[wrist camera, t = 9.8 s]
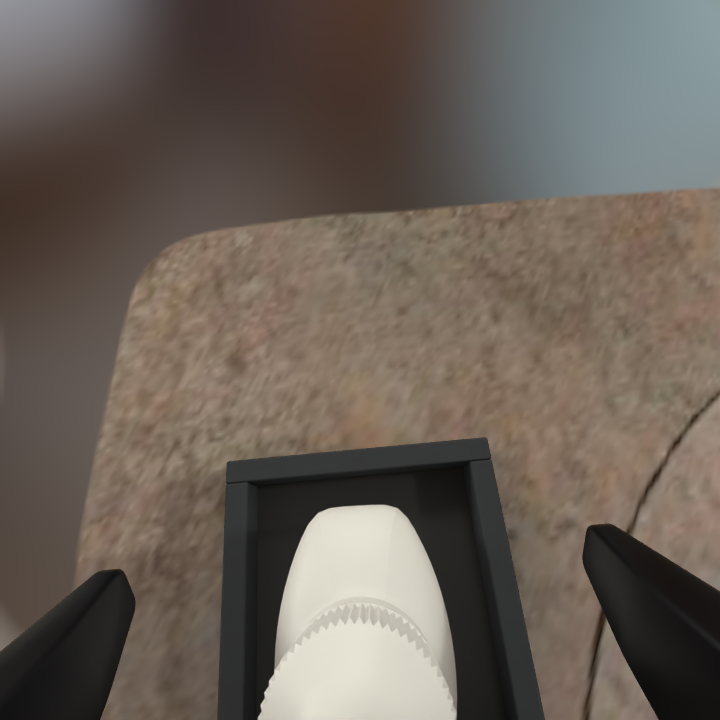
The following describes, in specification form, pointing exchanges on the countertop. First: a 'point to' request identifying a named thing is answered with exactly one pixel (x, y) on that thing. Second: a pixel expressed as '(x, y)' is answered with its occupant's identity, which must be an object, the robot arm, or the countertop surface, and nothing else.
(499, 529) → the dock pad
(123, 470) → the countertop surface
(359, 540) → the eye dropper bottle
